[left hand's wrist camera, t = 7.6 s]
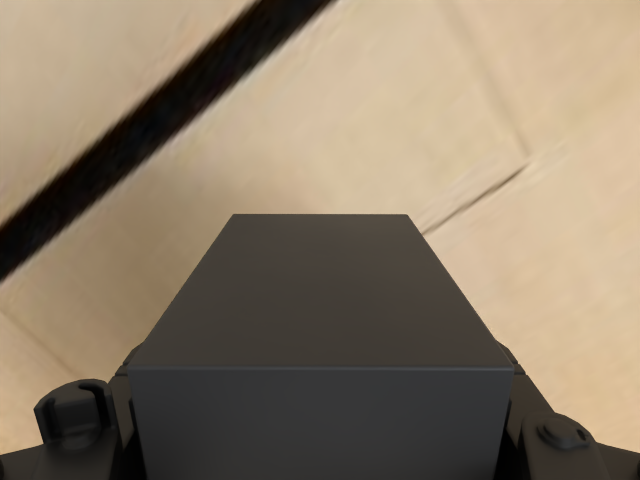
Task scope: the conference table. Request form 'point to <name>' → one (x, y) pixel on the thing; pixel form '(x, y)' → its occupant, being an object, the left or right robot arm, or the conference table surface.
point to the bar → (320, 360)
